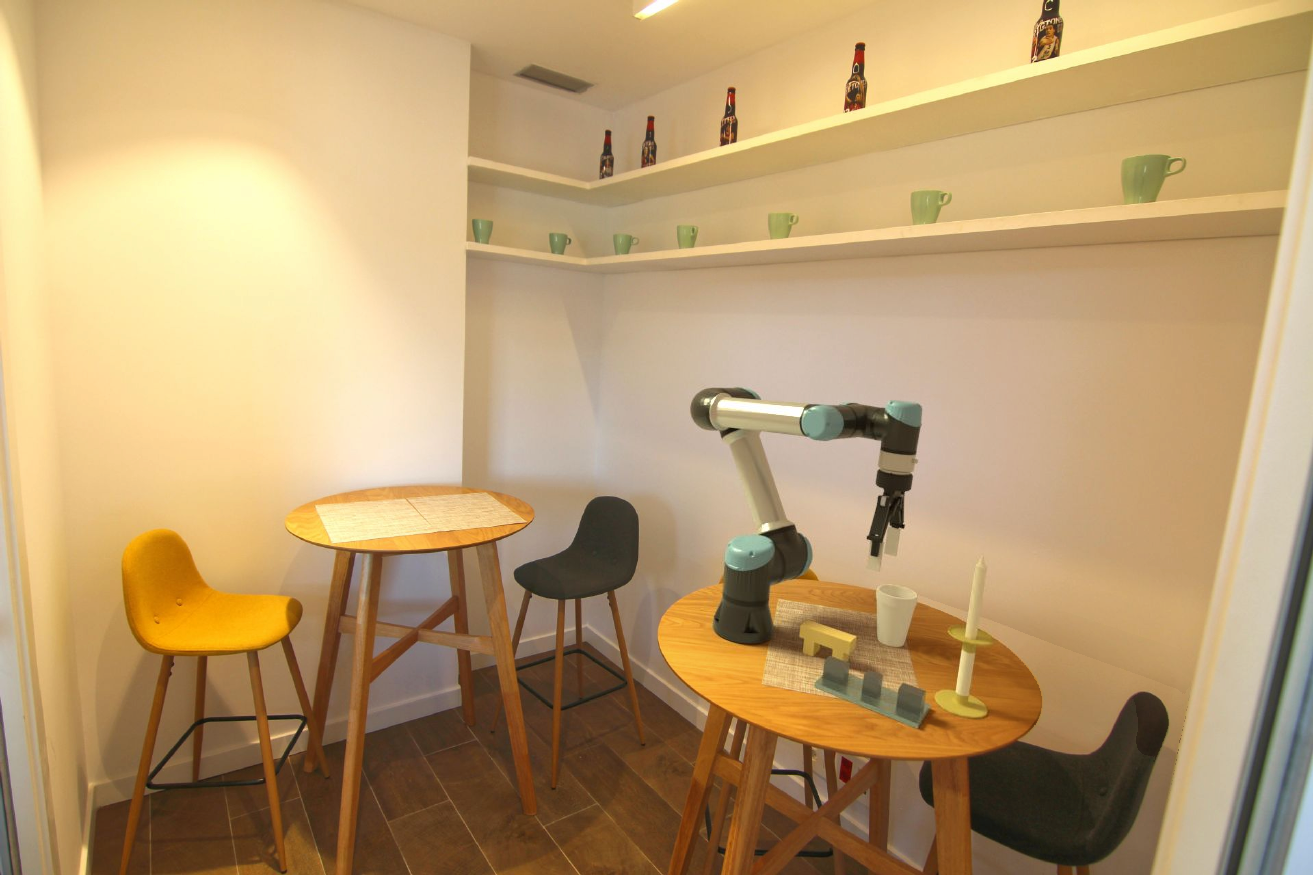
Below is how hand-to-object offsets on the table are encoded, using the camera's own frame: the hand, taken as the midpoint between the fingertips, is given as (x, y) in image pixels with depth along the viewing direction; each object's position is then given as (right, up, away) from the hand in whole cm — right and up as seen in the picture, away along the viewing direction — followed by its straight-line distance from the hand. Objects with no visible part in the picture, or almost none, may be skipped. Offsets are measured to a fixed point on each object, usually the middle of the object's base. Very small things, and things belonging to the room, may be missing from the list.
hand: (882, 561), depth 140 cm
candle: (+12, -27, -12) cm, 32 cm away
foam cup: (+7, -23, +14) cm, 28 cm away
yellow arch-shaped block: (-12, -23, +4) cm, 26 cm away
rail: (-7, -26, -12) cm, 29 cm away
